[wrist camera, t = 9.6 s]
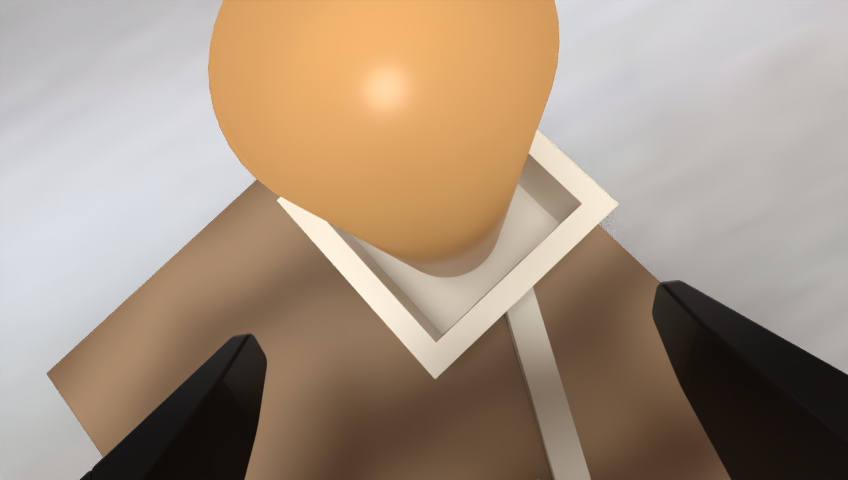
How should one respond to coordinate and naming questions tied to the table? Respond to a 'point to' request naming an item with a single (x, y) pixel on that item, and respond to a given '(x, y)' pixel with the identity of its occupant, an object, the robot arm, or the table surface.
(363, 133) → the tan cylinder
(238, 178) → the table surface
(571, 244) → the end holder
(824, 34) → the table surface
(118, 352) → the cable board
